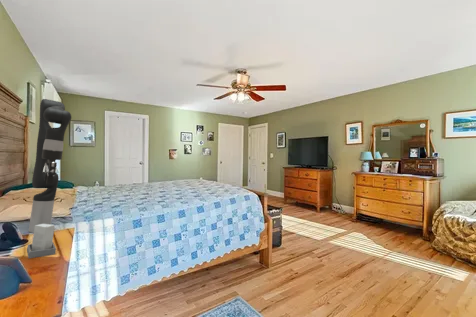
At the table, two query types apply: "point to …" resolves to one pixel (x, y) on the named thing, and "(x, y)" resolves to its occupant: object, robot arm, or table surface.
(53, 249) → the frame
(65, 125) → the robot arm
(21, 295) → the table surface
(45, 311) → the table surface
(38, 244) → the skincare box
